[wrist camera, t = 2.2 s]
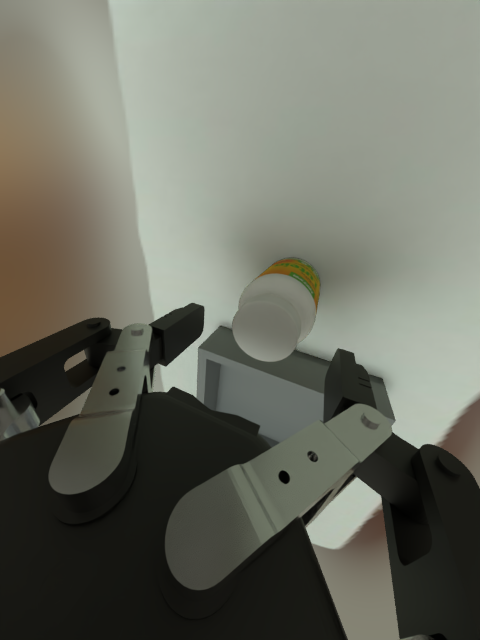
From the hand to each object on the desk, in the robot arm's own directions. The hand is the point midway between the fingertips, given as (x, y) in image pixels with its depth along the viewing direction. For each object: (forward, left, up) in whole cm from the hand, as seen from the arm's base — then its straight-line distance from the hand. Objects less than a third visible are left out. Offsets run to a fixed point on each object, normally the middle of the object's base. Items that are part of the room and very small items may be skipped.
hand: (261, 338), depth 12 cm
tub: (+15, +2, -10) cm, 18 cm away
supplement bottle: (0, 0, -10) cm, 10 cm away
